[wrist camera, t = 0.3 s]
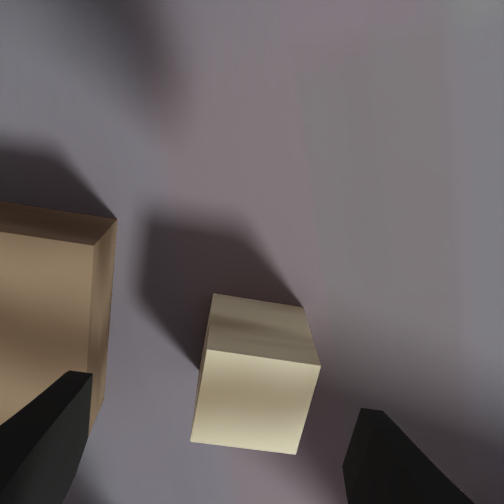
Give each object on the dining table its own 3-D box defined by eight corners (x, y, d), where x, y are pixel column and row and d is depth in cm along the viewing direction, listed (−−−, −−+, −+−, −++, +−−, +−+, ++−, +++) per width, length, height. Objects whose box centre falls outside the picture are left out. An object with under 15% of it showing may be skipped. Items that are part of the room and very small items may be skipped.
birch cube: (283, 381, 24) (295, 454, 19) (199, 370, 23) (190, 441, 19) (303, 306, 22) (321, 365, 18) (213, 292, 22) (206, 349, 17)
